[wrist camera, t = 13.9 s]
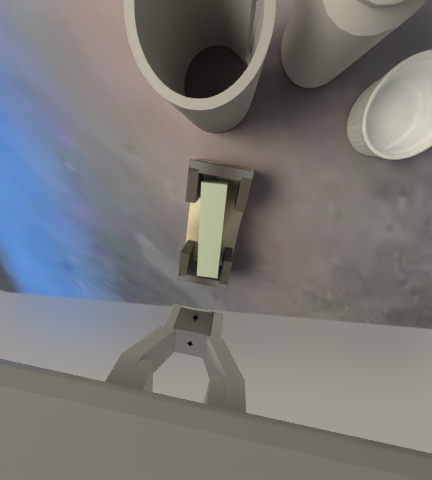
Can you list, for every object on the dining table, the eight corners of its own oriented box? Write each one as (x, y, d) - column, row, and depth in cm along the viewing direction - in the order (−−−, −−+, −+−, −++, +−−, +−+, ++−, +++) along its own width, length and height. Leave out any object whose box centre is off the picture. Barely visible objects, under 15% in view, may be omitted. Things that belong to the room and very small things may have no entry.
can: (332, 97, 21) (439, 30, 10) (269, 83, 21) (308, 2, 10) (367, 4, 18) (577, -237, 7) (293, -11, 18) (386, -276, 7)
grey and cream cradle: (252, 169, 25) (257, 171, 20) (228, 270, 32) (227, 289, 27) (195, 158, 25) (186, 158, 20) (184, 261, 32) (176, 279, 27)
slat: (228, 180, 25) (227, 184, 20) (219, 260, 30) (217, 278, 26) (207, 178, 25) (201, 182, 21) (202, 258, 31) (196, 275, 26)
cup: (166, 102, 23) (103, 50, 12) (204, 15, 19) (166, -175, 8) (225, 147, 24) (217, 138, 13) (270, 74, 21) (311, -21, 10)
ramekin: (417, 49, 19) (466, 20, 15) (431, 132, 22) (475, 126, 18) (330, 105, 21) (351, 93, 17) (352, 173, 24) (375, 176, 20)
